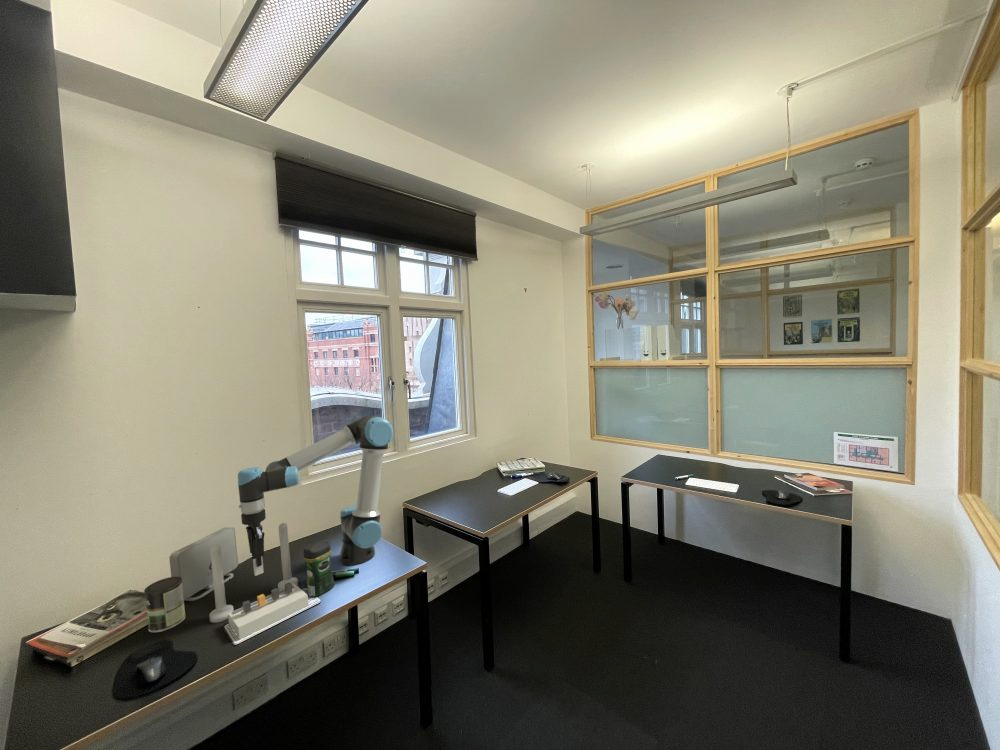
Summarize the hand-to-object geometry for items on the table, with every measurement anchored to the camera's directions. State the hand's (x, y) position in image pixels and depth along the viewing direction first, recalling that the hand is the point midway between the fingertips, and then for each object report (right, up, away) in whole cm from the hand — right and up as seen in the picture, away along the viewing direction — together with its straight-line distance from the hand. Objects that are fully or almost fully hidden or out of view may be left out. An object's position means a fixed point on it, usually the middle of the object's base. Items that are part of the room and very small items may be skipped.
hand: (258, 573), depth 148 cm
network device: (-31, -14, +17) cm, 38 cm away
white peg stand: (-11, -13, -4) cm, 18 cm away
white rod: (+4, -12, +13) cm, 18 cm away
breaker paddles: (+7, -7, -5) cm, 11 cm away
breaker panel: (+7, -12, -5) cm, 15 cm away
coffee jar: (+19, -11, +9) cm, 24 cm away
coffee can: (-29, -15, -6) cm, 33 cm away
